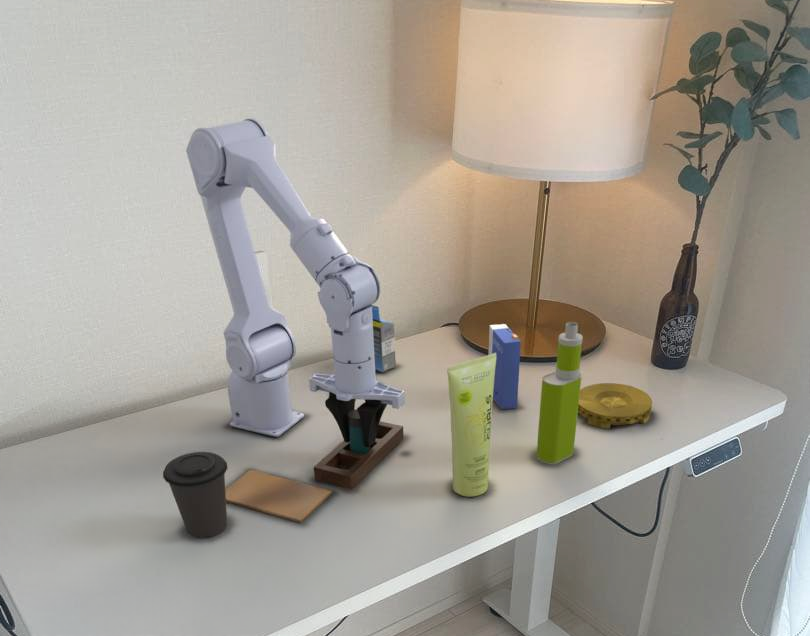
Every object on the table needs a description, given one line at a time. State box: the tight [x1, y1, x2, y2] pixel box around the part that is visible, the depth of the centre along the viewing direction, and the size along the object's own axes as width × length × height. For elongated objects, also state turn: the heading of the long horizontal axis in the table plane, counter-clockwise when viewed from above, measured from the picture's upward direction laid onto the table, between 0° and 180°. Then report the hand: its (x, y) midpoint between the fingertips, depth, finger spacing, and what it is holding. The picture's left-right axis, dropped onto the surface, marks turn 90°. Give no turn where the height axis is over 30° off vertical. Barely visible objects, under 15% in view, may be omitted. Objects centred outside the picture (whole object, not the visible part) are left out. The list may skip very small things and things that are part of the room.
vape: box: [536, 321, 584, 465], centre depth 114 cm, size 4×6×20 cm, turn 129°
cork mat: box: [225, 469, 333, 523], centre depth 113 cm, size 14×8×1 cm, turn 63°
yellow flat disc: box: [578, 382, 653, 429], centre depth 130 cm, size 12×12×2 cm
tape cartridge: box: [369, 304, 397, 373], centre depth 145 cm, size 9×4×12 cm, turn 46°
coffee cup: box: [162, 451, 228, 539], centre depth 104 cm, size 8×8×10 cm
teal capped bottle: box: [348, 408, 370, 455], centre depth 118 cm, size 3×3×8 cm
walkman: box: [488, 323, 522, 410], centre depth 132 cm, size 8×3×12 cm, turn 13°
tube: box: [447, 353, 496, 497], centre depth 107 cm, size 6×5×20 cm
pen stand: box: [313, 420, 405, 490], centre depth 120 cm, size 6×16×2 cm, turn 153°
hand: (359, 441), depth 119 cm, fingers closed on teal capped bottle, 3 cm apart
